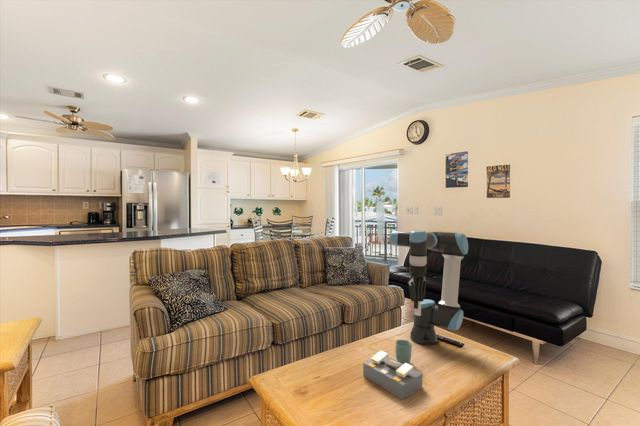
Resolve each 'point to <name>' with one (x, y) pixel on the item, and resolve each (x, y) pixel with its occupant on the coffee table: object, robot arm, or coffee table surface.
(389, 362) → the rocker
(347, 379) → the coffee table surface
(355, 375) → the coffee table surface
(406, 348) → the cup
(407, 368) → the block
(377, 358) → the rocker
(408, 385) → the console
